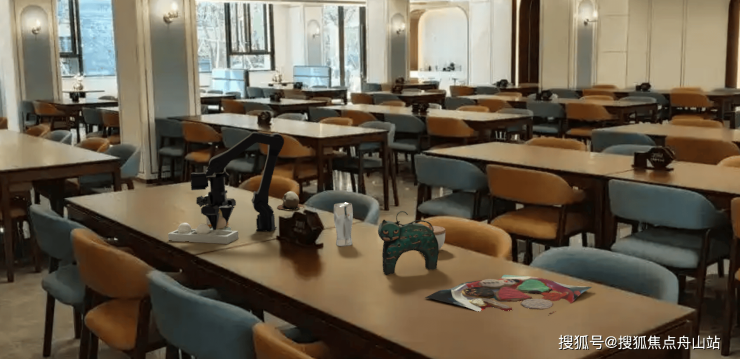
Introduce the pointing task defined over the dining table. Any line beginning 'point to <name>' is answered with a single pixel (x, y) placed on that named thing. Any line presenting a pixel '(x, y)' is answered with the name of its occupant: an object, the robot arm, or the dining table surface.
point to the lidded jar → (439, 234)
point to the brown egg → (221, 223)
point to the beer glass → (343, 223)
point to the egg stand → (223, 228)
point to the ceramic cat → (407, 243)
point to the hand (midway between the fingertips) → (220, 227)
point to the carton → (202, 234)
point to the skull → (290, 201)
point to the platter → (508, 293)
